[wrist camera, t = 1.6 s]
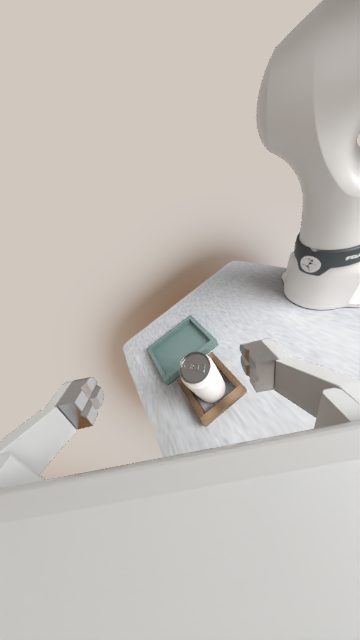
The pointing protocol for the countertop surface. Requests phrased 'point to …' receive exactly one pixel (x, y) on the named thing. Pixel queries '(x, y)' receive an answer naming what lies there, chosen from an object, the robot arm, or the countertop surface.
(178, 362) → the tray
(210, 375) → the can
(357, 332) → the countertop surface
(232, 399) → the collar
